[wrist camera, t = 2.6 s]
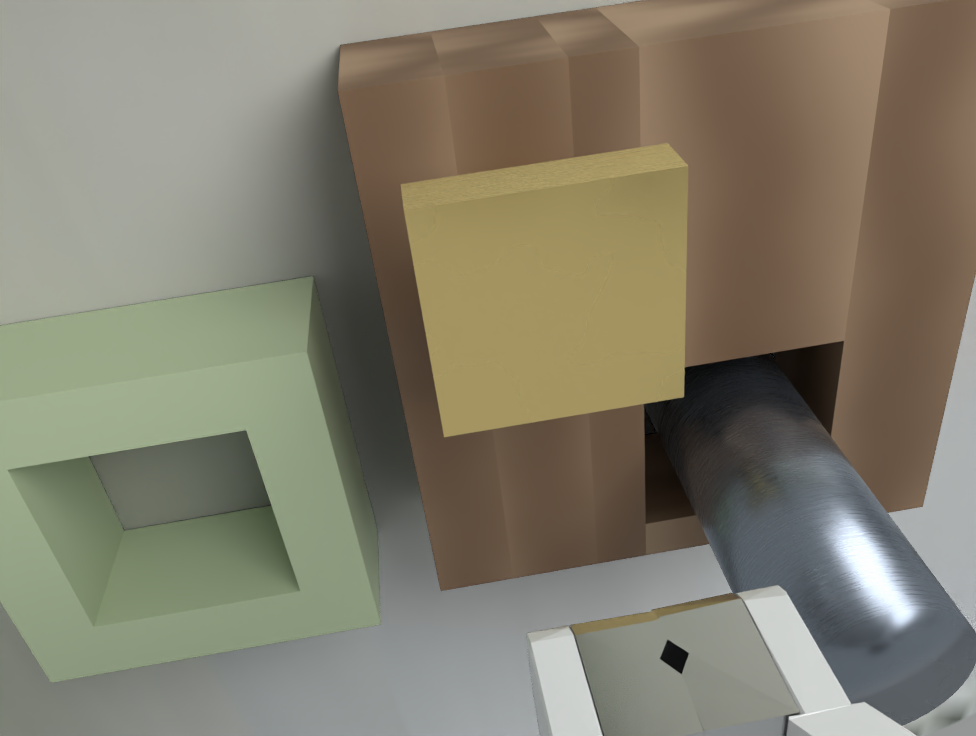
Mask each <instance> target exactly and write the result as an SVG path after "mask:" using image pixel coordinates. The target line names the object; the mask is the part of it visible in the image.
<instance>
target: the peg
mask: <svg viewBox="0 0 976 736" xmlns="http://www.w3.org/2000/svg"><path fill="white" fill-rule="evenodd" d="M644 406H645V408H646V410H647V412H648V415H649V417H650V419H651V421H652V423H653V425H654V427H655V429H656V432H657V434H658V436H659V438H660V440H661V442H662V444H663V446H664V448H665V451H666V453H667V455H668V457H669V459H670V461H671V463H672V465H673V467H674V470H675V472H676V474H677V476H678V478H679V480H680V482H681V484H682V486H683V489H684V491H685V493H686V495H687V497H688V499H689V501H690V503H691V506H692V508H693V510H694V512H695V514H696V516H697V518H698V520H699V522H700V525H701V527H702V529H703V531H704V533H705V535H706V537H707V539H708V541H709V544H710V546H711V548H712V550H713V552H714V554H715V556H716V558H717V560H718V563H719V565H720V567H721V569H722V571H723V573H724V575H725V577H726V580H727V582H728V584H729V586H730V588H731V590H732V592H733V594H736V593H740V592H745V591H750V590H755V589H760V588H765V587H770V586H775V585H778V586H780V587H781V588H782V589H783V590H785V591H786V592H787V594H788V596H789V598H790V599H791V601H792V603H793V605H794V606H795V608H796V610H797V611H798V613H799V615H800V617H801V618H802V620H803V622H804V623H805V625H806V627H807V629H808V630H809V632H810V634H811V635H812V637H813V639H814V641H815V642H816V644H817V646H818V648H819V649H820V651H821V653H822V654H823V656H824V658H825V660H826V661H827V663H828V665H829V666H830V668H831V670H832V672H833V673H834V675H835V677H836V678H837V680H838V682H839V684H840V685H841V687H842V689H843V691H844V692H845V694H846V696H847V697H848V699H849V701H850V703H851V704H853V703H860V702H866V703H867V704H869V705H870V706H872V707H873V708H875V709H876V710H878V711H880V712H881V713H883V714H884V715H886V716H887V717H889V718H890V719H892V720H893V721H895V722H897V723H898V724H900V725H901V726H902V725H905V724H907V723H909V722H911V721H914V720H916V719H918V718H919V717H921V716H923V715H925V714H927V713H928V712H930V711H932V710H933V709H935V708H936V707H938V706H939V705H940V704H942V703H943V702H944V701H946V700H947V699H948V698H949V697H950V696H952V695H953V694H954V693H955V692H956V691H957V690H958V689H959V688H960V687H961V686H962V685H963V683H964V682H965V681H966V679H967V678H968V677H969V675H970V673H971V672H972V670H973V668H974V666H975V663H976V633H975V631H974V629H973V628H972V626H971V625H970V624H969V622H968V621H967V620H966V618H965V617H964V616H963V614H962V613H961V612H960V610H959V609H958V608H957V606H956V605H955V603H954V602H953V601H952V599H951V598H950V597H949V595H948V594H947V593H946V591H945V590H944V589H943V587H942V586H941V585H940V583H939V582H938V581H937V579H936V578H935V576H934V575H933V574H932V572H931V571H930V570H929V568H928V567H927V566H926V564H925V563H924V562H923V560H922V559H921V558H920V556H919V555H918V554H917V552H916V551H915V549H914V548H913V547H912V545H911V544H910V543H909V541H908V540H907V539H906V537H905V536H904V535H903V533H902V532H901V531H900V529H899V528H898V527H897V525H896V524H895V522H894V521H893V520H892V518H891V517H890V516H889V514H888V513H887V512H886V510H885V509H884V508H883V506H882V505H881V504H880V502H879V501H878V500H877V498H876V497H875V495H874V494H873V493H872V491H871V490H870V489H869V487H868V486H867V485H866V483H865V482H864V481H863V479H862V478H861V477H860V475H859V474H858V473H857V471H856V470H855V469H854V467H853V466H852V464H851V463H850V462H849V460H848V459H847V458H846V456H845V455H844V454H843V452H842V451H841V450H840V448H839V447H838V446H837V444H836V443H835V442H834V440H833V439H832V437H831V436H830V435H829V433H828V432H827V431H826V429H825V428H824V427H823V425H822V424H821V423H820V421H819V420H818V419H817V417H816V416H815V415H814V413H813V412H812V410H811V409H810V408H809V406H808V405H807V404H806V402H805V401H804V400H803V398H802V397H801V396H800V394H799V393H798V392H797V390H796V389H795V388H794V386H793V385H792V383H791V382H790V381H789V379H788V378H787V377H786V375H785V374H784V373H783V371H782V370H781V369H780V367H779V366H778V365H777V363H776V362H775V361H774V359H773V358H772V356H771V355H770V354H769V353H768V354H761V355H755V356H749V357H743V358H737V359H731V360H725V361H719V362H713V363H707V364H701V365H695V366H689V367H685V375H684V397H682V398H676V399H670V400H664V401H658V402H652V403H646V404H644Z"/></svg>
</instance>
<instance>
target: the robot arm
mask: <svg viewBox="0 0 976 736" xmlns="http://www.w3.org/2000/svg"><path fill="white" fill-rule="evenodd" d="M526 643H527V651H528V658H529V666H530V674H531V682H532V690H533V696H534V702H535V709H536V715H537V721H538V727H539V733H540V736H917V735H915V734H914V733H912V732H910V731H909V730H907V729H906V728H904V727H903V726H901V725H900V724H898V723H897V722H895V721H893V720H892V719H890V718H889V717H887V716H886V715H884V714H883V713H881V712H880V711H878V710H876V709H875V708H873V707H872V706H870V705H869V704H867V703H866V702H860V703H853V704H851V703H850V701H849V699H848V697H847V696H846V694H845V692H844V691H843V689H842V687H841V685H840V684H839V682H838V680H837V678H836V677H835V675H834V673H833V672H832V670H831V668H830V666H829V665H828V663H827V661H826V660H825V658H824V656H823V654H822V653H821V651H820V649H819V648H818V646H817V644H816V642H815V641H814V639H813V637H812V635H811V634H810V632H809V630H808V629H807V627H806V625H805V623H804V622H803V620H802V618H801V617H800V615H799V613H798V611H797V610H796V608H795V606H794V605H793V603H792V601H791V599H790V598H789V596H788V594H787V592H786V591H785V590H783V589H782V588H781V587H780V586H778V585H775V586H770V587H765V588H760V589H755V590H750V591H745V592H740V593H736V594H733V593H729V594H724V595H720V596H715V597H710V598H705V599H701V600H696V601H691V602H686V603H681V604H677V605H672V606H667V607H662V608H658V609H653V610H651V612H645V613H639V614H633V615H627V616H621V617H615V618H609V619H603V620H597V621H591V622H585V623H579V624H573V625H570V627H569V626H563V627H557V628H552V629H546V630H541V631H535V632H530V633H527V634H526Z"/></svg>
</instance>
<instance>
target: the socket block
mask: <svg viewBox="0 0 976 736" xmlns="http://www.w3.org/2000/svg"><path fill="white" fill-rule="evenodd" d="M338 95H339V100H340V105H341V109H342V114H343V119H344V124H345V129H346V134H347V138H348V143H349V148H350V153H351V158H352V163H353V168H354V172H355V177H356V182H357V187H358V192H359V197H360V202H361V206H362V211H363V216H364V221H365V226H366V231H367V235H368V240H369V245H370V250H371V255H372V260H373V265H374V269H375V274H376V279H377V284H378V289H379V294H380V298H381V303H382V308H383V313H384V318H385V323H386V328H387V332H388V337H389V342H390V347H391V352H392V357H393V361H394V366H395V371H396V376H397V381H398V386H399V391H400V395H401V400H402V405H403V410H404V415H405V420H406V425H407V429H408V434H409V439H410V444H411V449H412V454H413V458H414V463H415V468H416V473H417V478H418V483H419V488H420V492H421V497H422V502H423V507H424V512H425V517H426V521H427V526H428V531H429V536H430V541H431V546H432V551H433V555H434V560H435V565H436V570H437V575H438V580H439V584H440V589H441V591H443V590H449V589H455V588H461V587H466V586H472V585H478V584H483V583H489V582H495V581H501V580H506V579H512V578H518V577H523V576H529V575H535V574H540V573H546V572H552V571H558V570H563V569H569V568H575V567H580V566H586V565H592V564H598V563H603V562H609V561H615V560H620V559H626V558H632V557H638V556H643V555H649V554H655V553H660V552H666V551H672V550H678V549H683V548H689V547H695V546H700V545H706V544H709V541H708V539H707V537H706V535H705V533H704V531H703V529H702V527H701V525H700V522H699V520H698V518H697V516H696V514H695V512H694V510H693V508H692V506H691V503H690V501H689V499H688V497H687V495H686V493H685V491H684V489H683V486H682V484H681V482H680V480H679V478H678V476H677V474H676V472H675V470H674V467H673V465H672V463H671V461H670V459H669V457H668V455H667V453H666V451H665V448H664V446H663V444H662V442H661V440H660V438H659V436H658V434H657V433H656V434H650V435H644V404H640V405H634V406H628V407H622V408H616V409H610V410H604V411H598V412H592V413H586V414H580V415H574V416H568V417H562V418H556V419H550V420H544V421H538V422H532V423H526V424H520V425H515V426H509V427H503V428H497V429H491V430H485V431H479V432H473V433H467V434H461V435H455V436H449V437H444V434H443V428H442V423H441V417H440V411H439V406H438V400H437V394H436V389H435V383H434V378H433V372H432V366H431V361H430V355H429V349H428V344H427V338H426V333H425V327H424V321H423V316H422V310H421V304H420V299H419V293H418V288H417V282H416V276H415V271H414V265H413V259H412V254H411V248H410V242H409V237H408V231H407V226H406V220H405V214H404V208H403V199H402V191H401V184H406V183H412V182H419V181H425V180H432V179H438V178H445V177H451V176H458V175H464V174H471V173H477V172H484V171H490V170H496V169H503V168H509V167H516V166H522V165H529V164H535V163H542V162H548V161H555V160H561V159H568V158H574V157H581V156H587V155H594V154H600V153H607V152H613V151H620V150H626V149H633V148H639V147H646V146H652V145H659V144H665V143H668V144H669V145H670V146H671V147H672V148H673V149H674V151H675V152H676V153H677V154H678V155H679V156H680V157H681V158H682V159H683V161H684V162H685V163H686V164H687V165H688V211H687V265H686V320H685V367H689V366H695V365H701V364H707V363H713V362H719V361H725V360H731V359H737V358H743V357H749V356H755V355H761V354H768V353H774V352H776V353H775V362H776V363H777V365H778V366H779V367H780V369H781V370H782V371H783V373H784V374H785V375H786V377H787V378H788V379H789V381H790V382H791V383H792V385H793V386H794V388H795V389H796V390H797V392H798V393H799V394H800V396H801V397H802V398H803V400H804V401H805V402H806V404H807V405H808V406H809V408H810V409H811V410H812V412H813V413H814V415H815V416H816V417H817V419H818V420H819V421H820V423H821V424H822V425H823V427H824V428H825V429H826V431H827V432H828V433H829V435H830V436H831V437H832V439H833V440H834V442H835V443H836V444H837V446H838V447H839V448H840V450H841V451H842V452H843V454H844V455H845V456H846V458H847V459H848V460H849V462H850V463H851V464H852V466H853V467H854V469H855V470H856V471H857V473H858V474H859V475H860V477H861V478H862V479H863V481H864V482H865V483H866V485H867V486H868V487H869V489H870V490H871V491H872V493H873V494H874V495H875V497H876V498H877V500H878V501H879V502H880V504H881V505H882V506H883V508H884V509H885V510H886V512H887V513H889V512H895V511H900V510H906V509H912V508H917V507H923V503H924V498H925V494H926V490H927V485H928V481H929V476H930V472H931V468H932V463H933V459H934V454H935V450H936V446H937V441H938V437H939V432H940V428H941V424H942V419H943V415H944V410H945V406H946V402H947V397H948V393H949V388H950V384H951V380H952V375H953V371H954V366H955V362H956V358H957V353H958V349H959V344H960V340H961V336H962V331H963V327H964V322H965V318H966V314H967V309H968V305H969V300H970V296H971V292H972V287H973V283H974V278H975V274H976V0H643V1H637V2H630V3H623V4H616V5H609V6H602V7H596V8H589V9H582V10H575V11H568V12H562V13H555V14H548V15H541V16H534V17H527V18H521V19H514V20H507V21H500V22H493V23H487V24H480V25H473V26H466V27H459V28H452V29H446V30H439V31H432V32H425V33H418V34H412V35H405V36H398V37H391V38H384V39H377V40H371V41H364V42H357V43H350V44H343V45H340V62H339V79H338Z"/></svg>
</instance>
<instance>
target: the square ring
mask: <svg viewBox="0 0 976 736" xmlns="http://www.w3.org/2000/svg"><path fill="white" fill-rule="evenodd" d="M244 430H246V431H247V434H248V437H249V440H250V443H251V446H252V449H253V452H254V455H255V458H256V461H257V464H258V467H259V470H260V473H261V476H262V479H263V482H264V485H265V488H266V491H267V494H268V497H269V500H270V502H271V505H272V506H266V507H260V508H254V509H248V510H242V511H236V512H230V513H224V514H219V515H213V516H207V517H201V518H195V519H189V520H183V521H177V522H171V523H165V524H160V525H154V526H148V527H142V528H136V529H130V530H124V529H123V527H122V525H121V523H120V521H119V519H118V517H117V515H116V512H115V510H114V508H113V506H112V504H111V502H110V500H109V498H108V496H107V494H106V491H105V489H104V487H103V485H102V483H101V481H100V479H99V477H98V475H97V473H96V470H95V468H94V466H93V464H92V462H91V460H90V458H89V456H93V455H99V454H105V453H111V452H117V451H124V450H130V449H136V448H142V447H148V446H154V445H160V444H166V443H172V442H178V441H184V440H190V439H196V438H202V437H208V436H214V435H220V434H226V433H232V432H238V431H244ZM0 602H1V604H2V605H3V607H4V609H5V610H6V612H7V613H8V615H9V617H10V618H11V620H12V621H13V623H14V625H15V626H16V628H17V629H18V631H19V633H20V634H21V636H22V637H23V639H24V641H25V642H26V644H27V645H28V647H29V649H30V650H31V652H32V653H33V655H34V657H35V658H36V660H37V661H38V663H39V665H40V666H41V668H42V669H43V671H44V673H45V674H46V676H47V677H48V679H49V681H50V682H51V683H52V682H58V681H63V680H69V679H75V678H80V677H86V676H92V675H97V674H103V673H109V672H114V671H120V670H126V669H131V668H137V667H143V666H149V665H154V664H160V663H166V662H171V661H177V660H183V659H188V658H194V657H200V656H205V655H211V654H217V653H222V652H228V651H234V650H239V649H245V648H251V647H256V646H262V645H268V644H273V643H279V642H285V641H290V640H296V639H302V638H307V637H313V636H319V635H324V634H330V633H336V632H341V631H347V630H353V629H358V628H364V627H370V626H375V625H381V617H380V585H379V552H378V531H377V527H376V523H375V519H374V515H373V511H372V507H371V503H370V499H369V495H368V491H367V488H366V484H365V480H364V476H363V472H362V468H361V464H360V460H359V456H358V452H357V448H356V444H355V440H354V436H353V432H352V428H351V424H350V420H349V416H348V412H347V408H346V404H345V400H344V396H343V392H342V388H341V384H340V380H339V376H338V372H337V368H336V364H335V360H334V356H333V352H332V348H331V344H330V340H329V336H328V332H327V328H326V325H325V321H324V317H323V313H322V309H321V305H320V301H319V297H318V293H317V289H316V285H315V281H314V277H313V276H311V277H305V278H298V279H292V280H286V281H279V282H273V283H267V284H260V285H254V286H248V287H241V288H235V289H229V290H222V291H216V292H210V293H203V294H197V295H191V296H184V297H178V298H172V299H165V300H159V301H153V302H146V303H140V304H134V305H127V306H121V307H115V308H108V309H102V310H96V311H89V312H83V313H77V314H70V315H64V316H58V317H51V318H45V319H39V320H33V321H26V322H20V323H14V324H7V325H1V326H0Z"/></svg>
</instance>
